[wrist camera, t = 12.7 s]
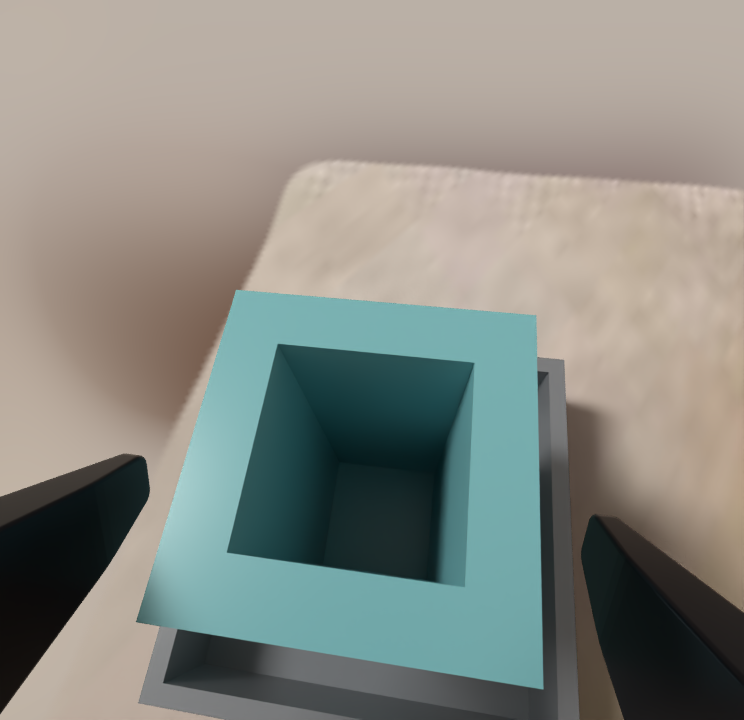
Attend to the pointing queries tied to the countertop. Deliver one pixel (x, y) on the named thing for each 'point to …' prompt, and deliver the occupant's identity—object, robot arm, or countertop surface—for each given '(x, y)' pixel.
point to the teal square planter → (364, 488)
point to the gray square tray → (380, 680)
